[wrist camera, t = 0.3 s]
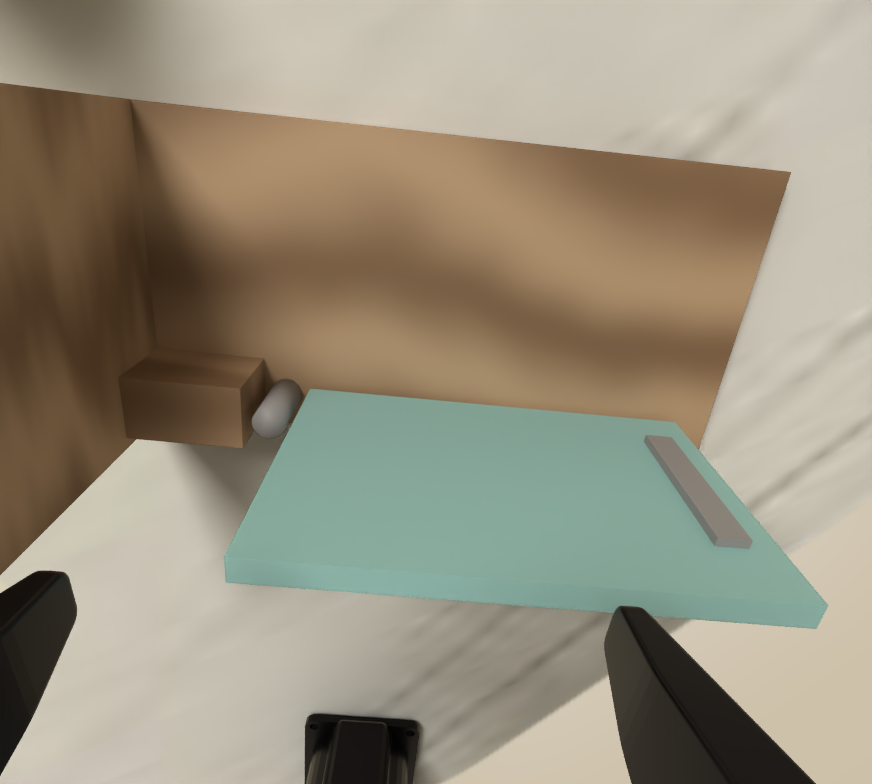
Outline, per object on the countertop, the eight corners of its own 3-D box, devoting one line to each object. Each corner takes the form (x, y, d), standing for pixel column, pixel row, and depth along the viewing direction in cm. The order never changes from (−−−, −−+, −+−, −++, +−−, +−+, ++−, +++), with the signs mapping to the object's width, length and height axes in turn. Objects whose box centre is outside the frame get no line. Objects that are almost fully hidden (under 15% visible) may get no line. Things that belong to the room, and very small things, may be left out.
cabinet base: (685, 447, 25) (875, 684, 14) (146, 398, 24) (-93, 611, 13) (775, 170, 20) (1162, 207, 10) (109, 97, 20) (-307, 45, 9)
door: (665, 439, 24) (813, 634, 15) (272, 404, 23) (160, 583, 14) (674, 412, 23) (833, 596, 14) (272, 375, 23) (155, 541, 13)
